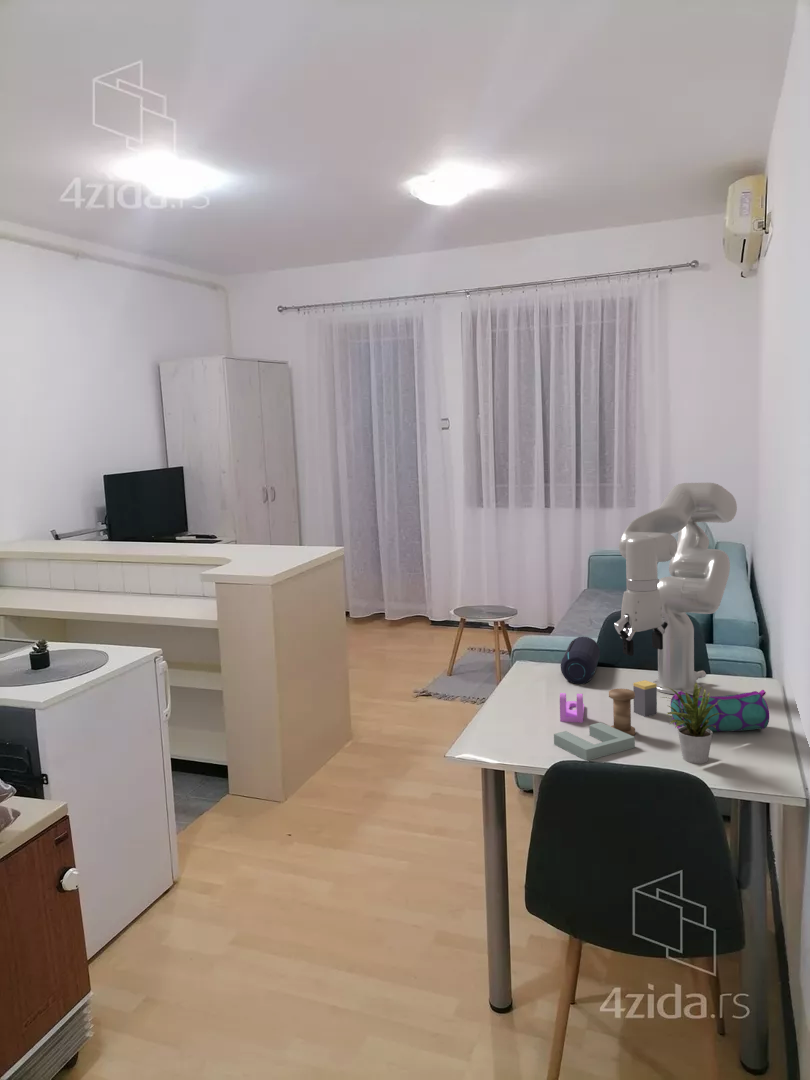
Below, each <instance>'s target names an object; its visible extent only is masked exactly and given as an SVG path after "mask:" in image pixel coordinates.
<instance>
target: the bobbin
mask: <svg viewBox="0 0 810 1080" xmlns="http://www.w3.org/2000/svg"><path fill="white" fill-rule="evenodd" d="M608 698H609V699H612V701H613V703H612V705H613V707H612V708H613V713H612V714H613V725H609V726H610V727H613V728H615V729H617V730H620V731H622V732H624V733H627V734H629V735H631V736H634V737H635V735H636V728H635V727H634V726H632V712H631V710H632V707H631V705H632V704H631V703H632V700H634V698H635V692H634V690H632V689H628V688H612V689H610V690H608Z"/></svg>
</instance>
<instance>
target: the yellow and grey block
mask: <svg viewBox="0 0 810 1080" xmlns="http://www.w3.org/2000/svg"><path fill="white" fill-rule="evenodd" d="M632 685H633V690H632V691H634V692H635V698H634V699H633V713H635V714H636V715H638V716H642V717H643V718H646V717H651V716H654V715H657V714H658V708H657V707H658V704H657V703H658V699H657V698H658V693H657V692H658V691H657V684H655V683H653V682H652V681H648V680H646V679H644V680H639V681H636V682H633V683H632Z"/></svg>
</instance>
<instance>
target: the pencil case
mask: <svg viewBox="0 0 810 1080" xmlns="http://www.w3.org/2000/svg"><path fill="white" fill-rule="evenodd" d="M686 693H687V691H680V692H678V694H679V695H680V696H681V697H682V698H683V700H684V702H685V703H687V700H686ZM766 694H767V692H766V691H765V690H764V689H761V690H760V691H756V690H755V691H754V690H753V691H750V692H743V693H739V694H730V695H729V694H728V695H717V696H716V695H715V696H714V695H712V696H710V695H709V701H708V704H707V706H706V709H707V708H708V707H710V706H711V705H715V704H716V703H717V702H718V701H719V702H718V703H717V704H716V705H715V706H714V707H713V708H712V709H711V710H710V711H709V713H708V714H707V716H706V717H705V719H704V721H703V723H704V722H705V720H706V719H708V718H709V717H710V716H712V715H713V714H716V713H722V714H717V715H715V716H712V717H711V718H710V719H708V720H709V722H708V724H707V725H706V726H708V725H710V727H708V729H710V730H711V731H712V732H736V731H739V732H740V731H742V732H743V731H752V730H753V731H754V730H757V729H759V730H765V729H766V728H768V725H769V722H770V707H769V706H768V703H767V701H766V699H765V698H764V696H765V695H766ZM688 695H689V697H690V698H691V700H692V702H693V694H692V693H688ZM702 697H703V695H699V698H698V708H700V705H701V701H702ZM706 697H707V696H706ZM706 697H705V699H706ZM672 699H673V700H672ZM721 699H722V700H721ZM674 700H675V701H674ZM672 701H673V702H675V703H676V704H677V705H678V706H679V707H680V708H681V710H682V711H683V712H684V713H685V714H687V712H686V711H685V710H686V709H685V707H684V706H683V704H682V703H681V701H680V699H679V698H678V696H677V695H676V694H673V695H672V697H671V699H670V707H672V708H674V709H675V710H676V711H677V712H679V713H682V711H681V710H680V709H679V707H678V706H677V705H676V704H675V703H673V702H672ZM676 701H677V702H678V703H677V702H676ZM704 703H705V701H704ZM680 704H681V705H682V706H683V707H684V708H683V707H682V706H681V705H680ZM687 704H688V703H687ZM703 706H704V705H703ZM672 708H670V712H672V711H673V709H672ZM684 709H685V710H684ZM706 709H705V710H706ZM673 712H674V711H673ZM671 716H672V717H671V718H672V720H674V719H676V718H677V719H678V720H681V719H680V718H679V717H678V716H677V715H674V714H671ZM674 717H675V718H674ZM681 718H682V719H683V720H684V721H686V720H687V719H686V720H685V719H684V718H683V717H681ZM677 719H676V720H677ZM681 721H682V720H681ZM688 721H689V722H690V723H691V721H690V720H689V719H688ZM688 721H687V722H688ZM687 722H686V723H687ZM676 723H677V722H674V723H673V724H674V725H675V727H676ZM703 723H702V725H703ZM683 724H684V723H683ZM683 724H681V725H679V726H677V727H676V728H677V729H679V728H680V727H683V726H684V725H685V724H684V725H683ZM702 725H701V726H702ZM713 725H715V726H716V728H715V727H713ZM685 726H686V725H685Z"/></svg>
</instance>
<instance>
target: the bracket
mask: <svg viewBox="0 0 810 1080" xmlns="http://www.w3.org/2000/svg"><path fill="white" fill-rule="evenodd" d="M583 695H584V694H583V693H576V700H568V701H567V693H566V692H560V693H559V721H560V722H567V723H584V714H585V713H584V712H585V703H584V696H583ZM573 707H575V709H570V708H573Z"/></svg>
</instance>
